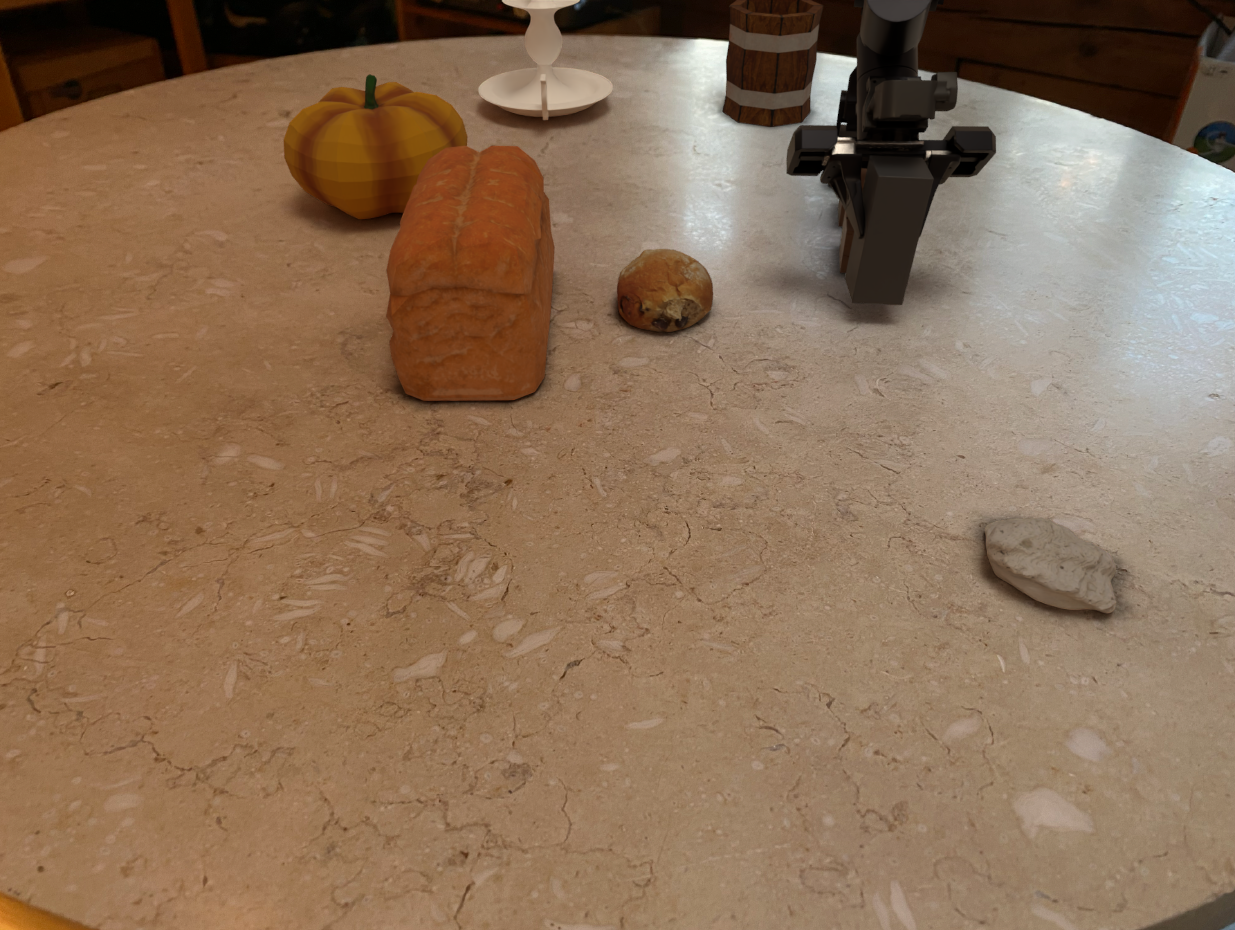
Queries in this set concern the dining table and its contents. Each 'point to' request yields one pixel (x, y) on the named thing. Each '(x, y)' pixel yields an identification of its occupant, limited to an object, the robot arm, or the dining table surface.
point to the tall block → (888, 229)
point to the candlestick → (544, 71)
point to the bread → (472, 278)
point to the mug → (771, 60)
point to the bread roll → (664, 291)
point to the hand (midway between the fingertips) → (888, 237)
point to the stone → (1051, 563)
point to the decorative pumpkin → (369, 145)
